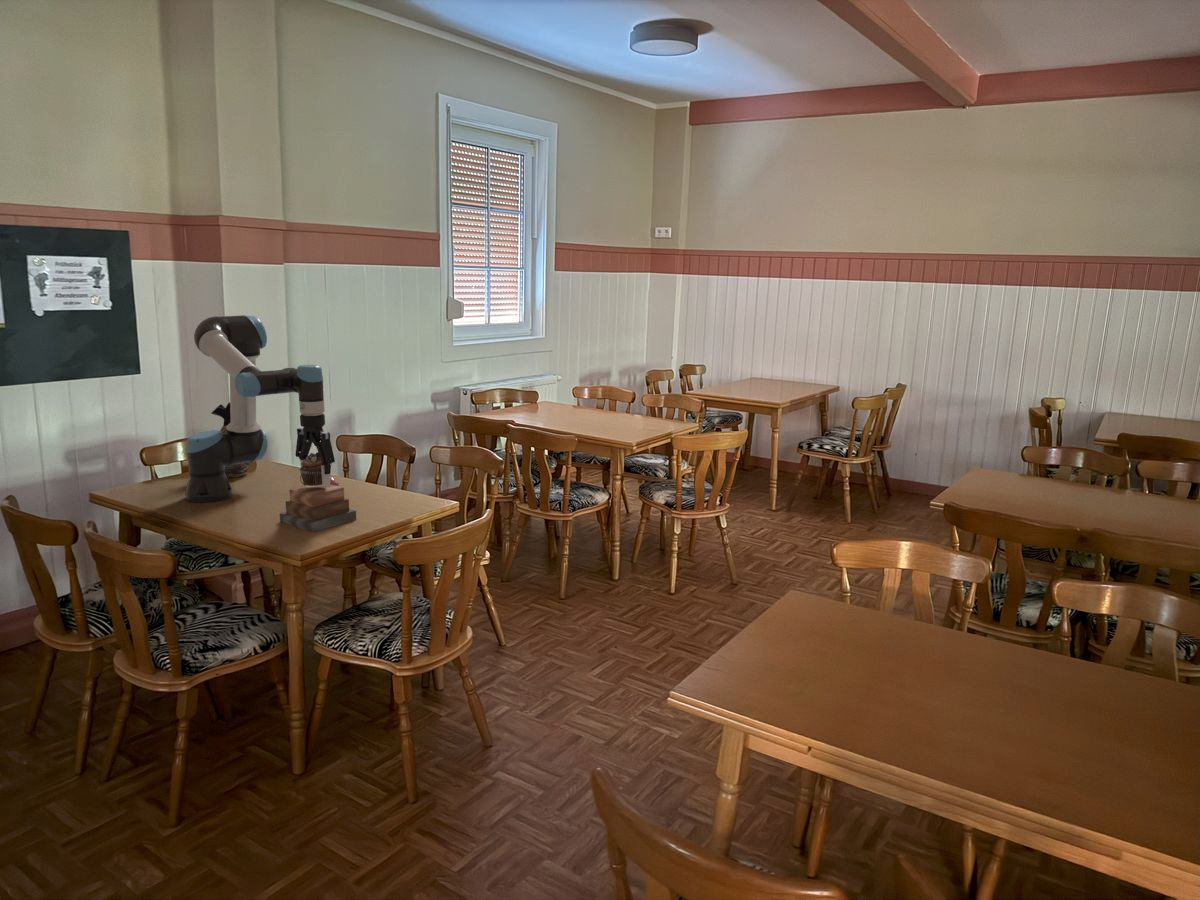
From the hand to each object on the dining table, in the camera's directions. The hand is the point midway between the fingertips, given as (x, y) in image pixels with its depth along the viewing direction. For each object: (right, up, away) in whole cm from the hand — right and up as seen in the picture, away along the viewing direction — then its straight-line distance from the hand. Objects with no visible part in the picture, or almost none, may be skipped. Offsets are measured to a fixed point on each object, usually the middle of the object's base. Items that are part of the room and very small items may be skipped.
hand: (316, 481), depth 268 cm
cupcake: (0, -1, 0) cm, 1 cm away
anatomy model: (-7, -7, +30) cm, 32 cm away
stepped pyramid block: (0, -13, +3) cm, 13 cm away
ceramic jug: (-52, 0, +59) cm, 79 cm away
